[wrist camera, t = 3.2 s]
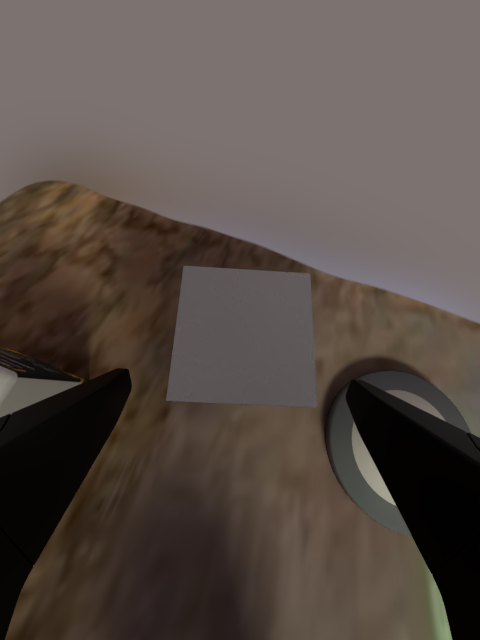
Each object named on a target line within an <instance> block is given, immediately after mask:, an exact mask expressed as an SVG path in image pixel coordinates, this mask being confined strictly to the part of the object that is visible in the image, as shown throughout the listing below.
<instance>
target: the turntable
mask: <svg viewBox="0 0 480 640" xmlns="http://www.w3.org/2000/svg"><path fill="white" fill-rule="evenodd" d="M356 379H357V380H363V381H365V382H367V383H369V384H371V385H373V386H375V387H377V388H379V389H381V390H383V391H385V392H387V393H389V394H391V395H393V396H395V397H397V398H399V399H402V400H404V401H406V402H408V403H410V404H412V405H414V406H416V407H418V408H420V409H422V410H424V411H426V412H428V413H430V414H432V415H434V416H436V417H438V418H440V419H442V420H444V421H446V422H448V423H450V424H452V425H454V426H456V427H458V428H460V429H462V430H464V431H465V432H466V433H470V430H469V428H468V426H467V424H466V422H465V420H464V418H463V416H462V415H461V414H460V412H459V411H458V409H457V408H456V406H455V405H454V404H453V403H452V402H451V401H450V399H449V398H448V397H447V396H446V395H445V394H444V393H442V392H441V391H440V390H439V389H437V388H436V387H435V386H434V385H432V384H430V383H429V382H427V381H426V380H424V379H421V378H419V377H417V376H415V375H412V374H409V373H404V372H399V371H381V372H374V373H369V374H365V375H362V376H360V377H358V378H356ZM349 384H350V382H349V383H348V384H347V385H346V386H345V387H344V388H343V389H342V390H341V391H340V392H339V393H338V395H337V396H336V397H335V399H334V401H333V403H332V405H331V408H330V411H329V413H328V418H327V422H326V447H327V453H328V457H329V461H330V464H331V467H332V469H333V472H334V474H335V476H336V478H337V480H338V482H339V484H340V485H341V487H342V488H343V490H344V491H345V493H346V494H347V495H348V496H349V497H350V499H351V500H352V501H353V502H354V503H355V504H356V505H357V506H358V507H359V508H360V509H362V510H363V511H364V512H365V513H366V514H367V515H369V516H370V517H371V518H372V519H374V520H375V521H376V522H378V523H379V524H381V525H383V526H385V527H386V528H388V529H390V530H393V531H395V532H398V533H401V534H405V535H409V536H412V535H411V533H410V531H409V529H408V527H407V525H406V524H405V522H404V520H403V518H402V516H401V514H400V512H399V510H398V508H397V506H396V504H395V502H394V500H393V498H392V496H391V494H390V493H389V491H388V489H387V487H386V485H385V483H384V481H383V479H382V477H381V475H380V473H379V471H378V469H377V467H376V465H375V463H374V462H373V460H372V458H371V456H370V454H369V452H368V450H367V448H366V446H365V444H364V442H363V440H362V438H361V436H360V434H359V432H358V430H357V428H356V425H355V422H354V420H353V417H352V415H351V412H350V410H349V407H348V404H347V402H346V392H347V389H348V387H349Z"/></svg>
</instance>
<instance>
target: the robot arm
mask: <svg viewBox="0 0 480 640" xmlns="http://www.w3.org/2000/svg"><path fill="white" fill-rule="evenodd" d="M131 388H132V383H131V378H130V374H129V370H128V369H124V368H117V369H115V370H112V371H110V372H107V373H105V374H103V375H100V376H98V377H96V378H93V379H91V380H89V381H86V382H84V383H81V384H79V385H77V386H74V387H72V388H70V389H67V390H65V391H63V392H60V393H58V394H56V395H53V396H51V397H48V398H46V399H44V400H41V401H39V402H37V403H34V404H32V405H30V406H27V407H25V408H22V409H20V410H18V411H15V412H13V413H12V414H7V415H5V416H3V417H0V640H5V637H6V634H7V631H8V628H9V625H10V622H11V618H12V615H13V612H14V609H15V606H16V603H17V600H18V597H19V595H20V592H21V590H22V588H23V585H24V583H25V581H26V579H27V577H28V575H29V573H30V572H31V570H32V568H33V565H34V564H35V563H36V561H37V559H38V558H39V556H40V554H41V553H42V551H43V549H44V547H45V546H46V544H47V542H48V540H49V539H50V537H51V535H52V534H53V532H54V530H55V528H56V527H57V525H58V523H59V522H60V520H61V518H62V516H63V515H64V513H65V511H66V509H67V508H68V506H69V504H70V503H71V501H72V499H73V497H74V496H75V494H76V492H77V491H78V489H79V487H80V485H81V484H82V482H83V480H84V478H85V477H86V475H87V473H88V472H89V470H90V468H91V466H92V465H93V463H94V461H95V460H96V458H97V456H98V454H99V453H100V451H101V449H102V448H103V446H104V444H105V442H106V441H107V439H108V437H109V435H110V434H111V432H112V430H113V429H114V427H115V425H116V423H117V421H118V419H119V417H120V415H121V412H122V410H123V408H124V405H125V403H126V401H127V399H128V396H129V394H130V392H131ZM346 402H347V404H348V407H349V410H350V412H351V415H352V417H353V420H354V422H355V425H356V428H357V430H358V432H359V434H360V436H361V438H362V440H363V442H364V444H365V446H366V448H367V450H368V452H369V454H370V456H371V458H372V460H373V462H374V463H375V465H376V467H377V469H378V471H379V473H380V475H381V477H382V479H383V481H384V483H385V485H386V487H387V489H388V491H389V493H390V494H391V496H392V498H393V500H394V502H395V504H396V506H397V508H398V510H399V512H400V514H401V516H402V518H403V520H404V522H405V524H406V525H407V527H408V529H409V531H410V533H411V535H412V537H413V539H414V541H415V543H416V545H417V547H418V549H419V551H420V553H421V554H422V556H423V558H424V560H425V562H426V564H427V566H428V568H429V570H430V572H431V573H432V574H433V578H434V580H435V582H436V584H437V586H438V588H439V591H440V593H441V596H442V599H443V602H444V606H445V609H446V614H447V618H448V622H449V626H450V631H451V635H452V639H453V640H480V438H479V437H477V436H475V435H473V434H471V433H466V432H465V431H464V430H462V429H460V428H458V427H456V426H454V425H452V424H450V423H448V422H446V421H444V420H442V419H440V418H438V417H436V416H434V415H432V414H430V413H428V412H426V411H424V410H422V409H420V408H418V407H416V406H414V405H412V404H410V403H408V402H406V401H404V400H402V399H399V398H397V397H395V396H393V395H391V394H389V393H387V392H385V391H383V390H381V389H379V388H377V387H375V386H373V385H371V384H369V383H367V382H365V381H363V380H357V379H353V380H351V382H350V384H349V387H348V389H347V392H346Z"/></svg>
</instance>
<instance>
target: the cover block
mask: <svg viewBox="0 0 480 640" xmlns="http://www.w3.org/2000/svg"><path fill="white" fill-rule="evenodd" d="M166 401H183V402H205V403H228V404H251V405H274V406H297V407H317V394H316V375H315V356H314V337H313V318H312V299H311V280H310V273H294V272H278V271H262V270H246V269H230V268H214V267H198V266H184V267H183V274H182V282H181V290H180V298H179V305H178V313H177V321H176V328H175V336H174V344H173V351H172V359H171V367H170V374H169V382H168V390H167V397H166Z"/></svg>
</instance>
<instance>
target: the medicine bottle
mask: <svg viewBox="0 0 480 640" xmlns="http://www.w3.org/2000/svg"><path fill="white" fill-rule="evenodd" d="M84 382H86V380H84V379H82V378H80V377H78V376H75V375H73V374H70V373H68V372H65V371H63V370H61V369H58V368H56V367H53V366H51V365H48V364H46V363H44V362H41V361H39V360H36V359H34V358H31V357H29V356H27V355H24V354H22V353H19V352H17V351H14V350H10V349H5V348H0V417H3V416H5V415H7V414H12V413H13V412H15V411H18V410H20V409H22V408H25V407H27V406H30V405H32V404H34V403H37V402H39V401H41V400H44V399H46V398H48V397H51V396H53V395H56V394H58V393H60V392H63V391H65V390H67V389H70V388H72V387H74V386H77V385H79V384H81V383H84Z"/></svg>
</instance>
